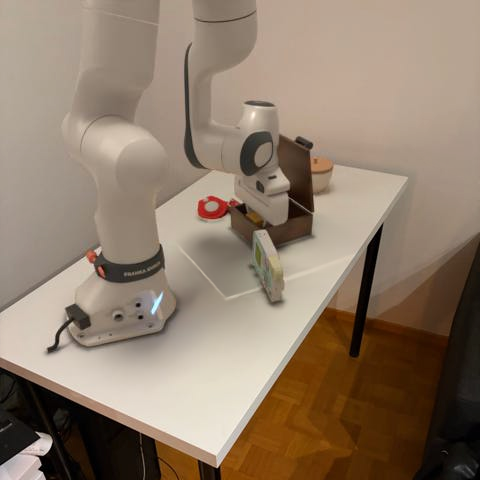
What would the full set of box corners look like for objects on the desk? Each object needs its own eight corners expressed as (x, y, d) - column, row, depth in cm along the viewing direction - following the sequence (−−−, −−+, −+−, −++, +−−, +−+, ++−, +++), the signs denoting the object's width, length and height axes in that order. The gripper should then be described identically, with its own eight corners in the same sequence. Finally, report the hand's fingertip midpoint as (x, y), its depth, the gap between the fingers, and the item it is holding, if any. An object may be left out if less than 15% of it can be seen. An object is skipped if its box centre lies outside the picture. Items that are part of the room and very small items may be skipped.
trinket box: (294, 181, 150) (296, 151, 144) (329, 181, 149) (332, 151, 143) (296, 196, 141) (297, 165, 136) (332, 196, 141) (336, 165, 135)
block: (255, 239, 121) (255, 222, 118) (245, 231, 125) (245, 213, 121) (272, 234, 123) (272, 217, 120) (262, 226, 126) (262, 209, 123)
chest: (259, 253, 118) (259, 230, 114) (230, 228, 128) (230, 206, 124) (311, 236, 123) (313, 214, 119) (280, 213, 133) (281, 192, 129)
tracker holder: (204, 221, 128) (189, 199, 133) (207, 232, 132) (192, 210, 137) (244, 202, 130) (228, 181, 135) (246, 214, 134) (230, 193, 139)
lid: (307, 150, 108) (325, 142, 109) (272, 132, 118) (289, 124, 119) (312, 213, 119) (328, 205, 120) (280, 191, 129) (295, 184, 130)
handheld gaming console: (269, 310, 104) (250, 266, 113) (282, 308, 104) (262, 264, 114) (273, 271, 95) (252, 227, 105) (286, 269, 96) (264, 225, 106)
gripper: (226, 161, 119) (228, 212, 128) (270, 192, 106) (269, 246, 114) (249, 156, 122) (249, 206, 131) (294, 185, 108) (291, 239, 117)
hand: (259, 225), depth 122 cm, fingers closed on block, 5 cm apart
